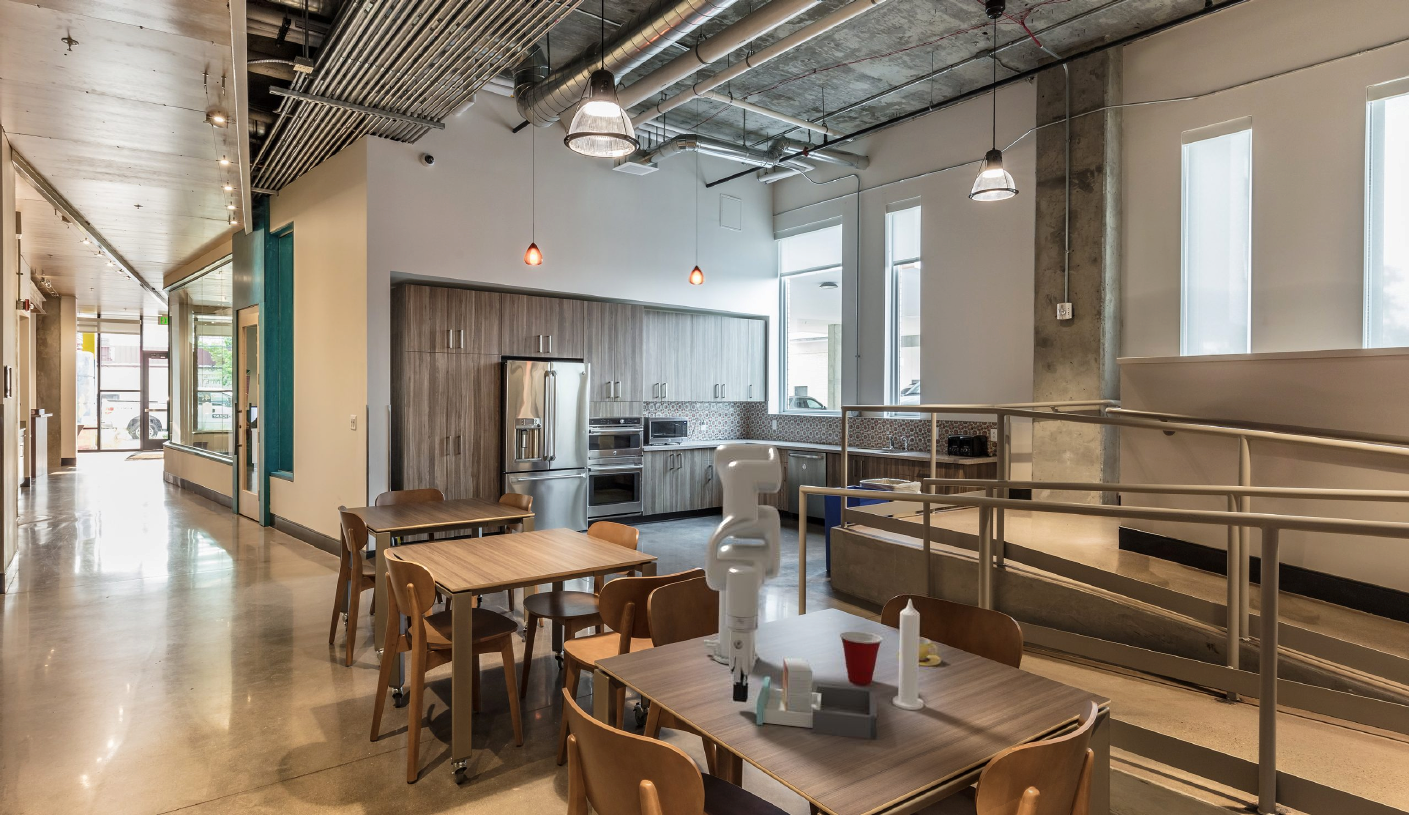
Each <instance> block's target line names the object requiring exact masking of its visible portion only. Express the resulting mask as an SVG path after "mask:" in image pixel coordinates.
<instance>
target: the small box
mask: <svg viewBox="0 0 1409 815" xmlns="http://www.w3.org/2000/svg"><path fill="white" fill-rule="evenodd" d="M782 671H783V672H782V689H783V697H782V702H783V705H784V708H785V711H794V712H803V713H811V699H812V690H813V689H812V688H813V670H812V668H811V665H810V664H809V661H808V658H792V657H791V658H787V657H783V666H782Z"/></svg>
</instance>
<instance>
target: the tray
mask: <svg viewBox="0 0 1409 815" xmlns="http://www.w3.org/2000/svg"><path fill="white" fill-rule="evenodd" d="M782 697H783V688H772V687H771V676H765V677H764V679H763V682H762V686H761V688H760V692H759V694H758V698H757V700H756V725H761V726H763V723H764V724H765V723H766V724H772V725H773V724H774V725H780V726H781V725H783V726H793V727H800V728H801V727H803V728H810V729H812V728H813V709H815V710H822V706H821V693H816V692H812V699H811V713H803V712H794V711H785V708H784V705H783V702H782Z"/></svg>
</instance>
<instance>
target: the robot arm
mask: <svg viewBox="0 0 1409 815" xmlns="http://www.w3.org/2000/svg"><path fill="white" fill-rule="evenodd" d="M714 463H715V468H716V471H717V474H718V476H719V478H720V482H721V485H722V496H723V497H722V521H721V522H720V523H719V524H718V525H717V526H716V527H715V529H714V530H713V531H712V533H711V534H710V537H709V539H708V542H707V546H706V550H705V553H706V554H705V556H706V557H705V581H706V584H707V587H709V589H711V590H713V591H718V592H719V596H718V597H719V599H718V600H719V601H718V602H719V605H718V608H719V609H718V639H714V640H711V639H703V641H702V642H703V643H702V645H703V647H705V649H706V650H713V651H712V658H713V659H714V660H715V661H716V662H719V663H721V664H724V665H728V672H729V674H731V675H733V686H732V700H733V702H739V703H747V701H748V700H749V682H748V678H749V676H751V675H752V673H753V670H754V667H755V665H756V661H757V660H758V659H759V655H758V654H759V653H758V652H757V651H756V632H755V631H758V629H759V607H760V606H759V603H760V602H759V601H760V600H759V597H760V596H759V595H760V592H759V591H760V590H761V588H762V586H763V585H764V584H765V581H766V580H773V579H776V578H777V577H778V576H779V574H780V570H781V569H780V567H781V520H780V519H781V518H780V513H779V511H778V509H777V508H776V507H775V506H773V505H765V504H764V505H763V504H762V505H761V504H759V494H760V493H761V494H776V493H777V492H779V490H780V489H781V485H782V476H783V475H782V466H781V460H780V454H779V451H778V449H777V447H776V446H775V445H772V444H768V443H767V444H765V443H726V444H720V445H719V446H717V447H716V448H715V449H714ZM726 538H729V539H734V540H760V541H762V542H763V543H764V544H759V543H757V544H755V543H751V544H750V543H729V544H724V545H723V546H721V547H720V548H719V546H720V544H721V543H722V542H723V540H725V539H726Z"/></svg>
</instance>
